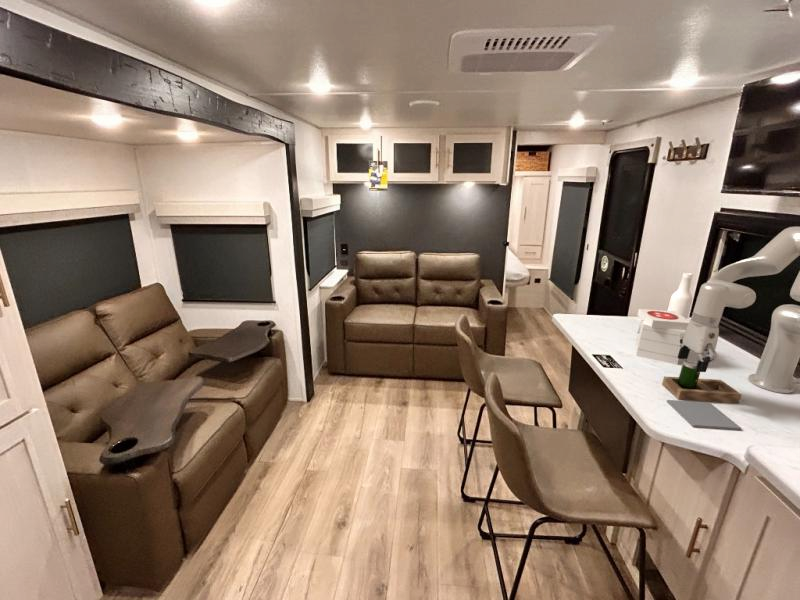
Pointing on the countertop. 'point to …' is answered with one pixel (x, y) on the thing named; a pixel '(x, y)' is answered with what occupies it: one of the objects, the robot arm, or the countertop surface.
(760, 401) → the countertop surface
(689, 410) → the rubber mat
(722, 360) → the countertop surface
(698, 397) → the can holder
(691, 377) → the beer can
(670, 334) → the pizza boxes
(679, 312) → the alcohol
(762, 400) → the countertop surface
